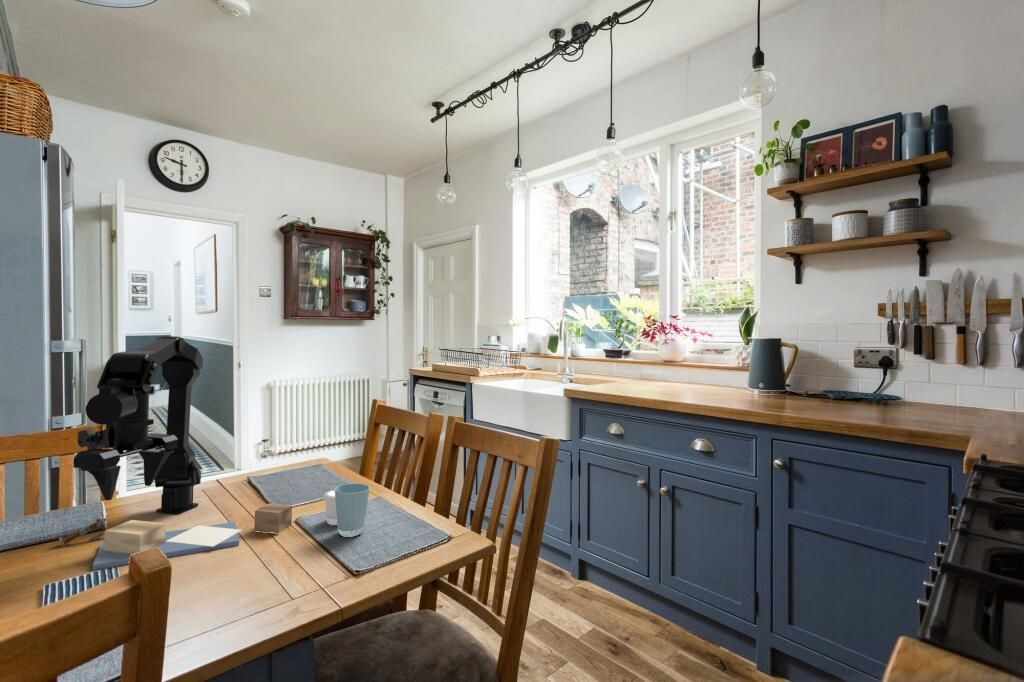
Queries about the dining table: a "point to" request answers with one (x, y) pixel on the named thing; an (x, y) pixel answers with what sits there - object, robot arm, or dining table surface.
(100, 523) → the wooden post with brackets
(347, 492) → the cup
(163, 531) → the beech block
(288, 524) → the walnut block
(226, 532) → the board
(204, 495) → the dining table surface
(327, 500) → the shot glass
